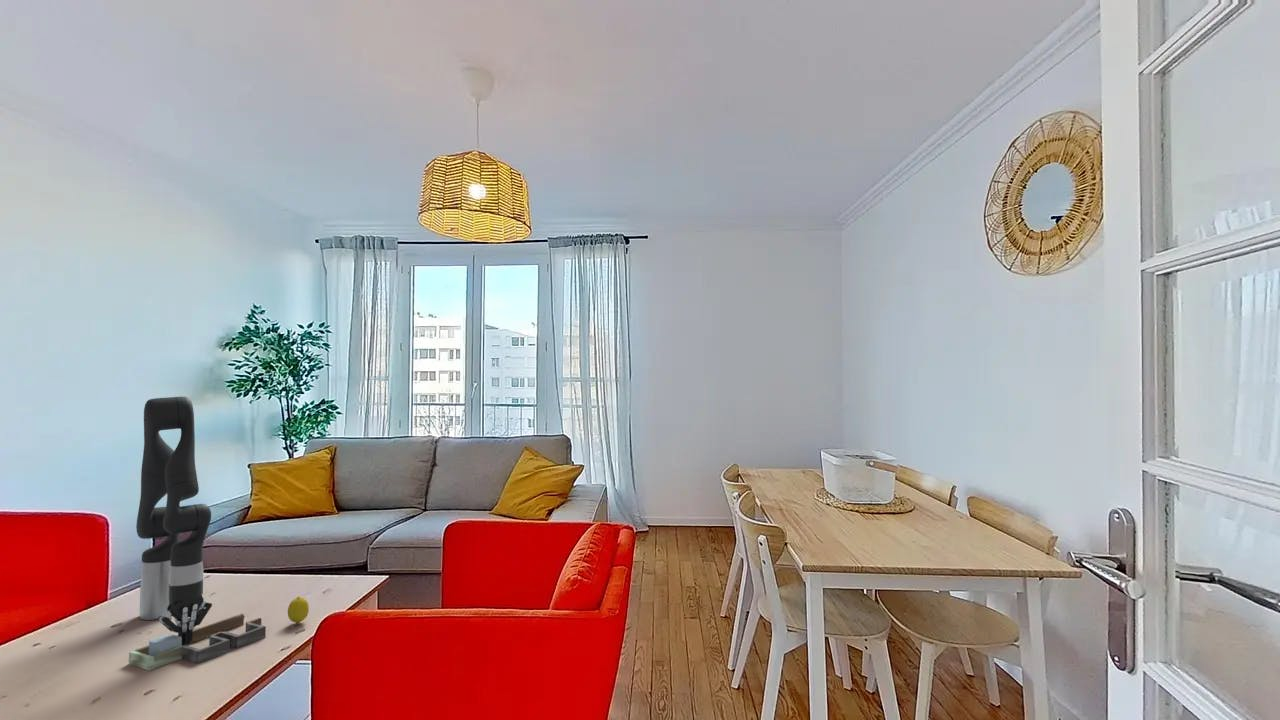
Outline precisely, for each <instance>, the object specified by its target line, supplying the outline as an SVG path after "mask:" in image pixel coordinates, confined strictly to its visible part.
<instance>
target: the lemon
mask: <svg viewBox="0 0 1280 720" xmlns="http://www.w3.org/2000/svg"><path fill="white" fill-rule="evenodd" d="M309 610H310V609H309V602H308V600H307V599H306V598H304V597H301V596H297V597H296V598H294V599H292V600H291V601H290V603H289V605H288V608H287V616H288V619H289V620H290V621H291V622H293V623H295V624H297V625H298V624H301V622H302V621H304V620H306V618H307V616H308V614H309Z"/></svg>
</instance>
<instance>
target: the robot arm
mask: <svg viewBox="0 0 1280 720" xmlns="http://www.w3.org/2000/svg"><path fill="white" fill-rule="evenodd" d="M176 429H177V430H179V429H180V438H179V441H178V443H177V446H176V447H175V449H173V448H172V447H170V445H169V444H167V442H166V441H165V440H164V439H163V438H162V437H161V434H160V431H167V430H176ZM195 438H196V436H195V412H194V407H193V403H192V401H191V399H190V398H189V397H188V396H172V397H171V396H169V397H167V396H166V397H157V398H156V397H155V398H150V399H148V400H147V401H146V402H145V404H144V408H143V453H142V454H143V455H142V461H141V462H142V463H141V469H140V470H141V471H140V497H139V505H138V511H137V517H136V528H135V529H136V533H137V537H138V538H140V539H143V540H145V539H147V540H149V539H155V538H156V539H158V538H164V537H166V538H165V540H163V541H161V542H160V543H159V544H157V545H155V546H152V547H149V548H148V549H145V550H144V551H143V552H142V553H141V577H140V580H141V581H140V586H139V587H140V588H139V589H140V590H139V591H140V593H139V616H140V617H139V618H140V619H141V620H143V621H144V620H145V621H149V620H151V621H152V620H157V621H158V622H159V623H161V625H163V626H164V627H165V628H166V629H167V630H169V631H170V632H173V633H176V634H177V636H180V637H182V645H181V646H186V645H187V646H189V645H191V643H190V642H191V641H192V632H193V630H194V628H195V627H197V626H199V625H201V624H202V622H203V620H204V619H205V617H206V616H207V615H208V612H210V609H211V608H212V607H213V603H211V602H208V601H207V602H206V601H205V599H204V597H203V594H204V564H203V563H204V562H203V551H204V550H203V548H204V544H205V538H206V535H207V532H208V529H209V528H210V527H209V526H210V524H211V520H212V511H211V508H210V507H209V506H208V505H207V504H205V503H196V504H189V505H183V506H181V505H180V503H181V502H183V501H185V500H189V499H192V498H194V497H196V496H197V495H198V494H199V491H200V490H199V488H200V486H199V481H198V473H197V469H196V457H195V456H196V455H195V454H196V452H195V448H196V444H195V442H196V439H195ZM165 496H166V504H165V505H166V506H159V507H156V506H157V504H158V503H159V501H161V500H162V499H163V498H164V497H165ZM189 532H191V533H190V535H189V536H188V537H186V538H184V539H182V540H180V535H181V534H183V533H189ZM172 617H173V618H174V622H175V623H174V622H173V621H172Z"/></svg>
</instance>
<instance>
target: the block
mask: <svg viewBox="0 0 1280 720" xmlns="http://www.w3.org/2000/svg"><path fill="white" fill-rule="evenodd" d="M148 642H149V643H148V645H149V655H150V656H154V655H156V654H159V653H162V652H165V651H168V650H170V649H173V648H176V647H179V646H181V645H182V637H180V636H178V635H176V634H172V633H169V634H166V635H163V636H160V637H158V638H154V639H151V640H149V641H148Z"/></svg>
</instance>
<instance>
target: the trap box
mask: <svg viewBox="0 0 1280 720" xmlns="http://www.w3.org/2000/svg"><path fill="white" fill-rule="evenodd" d="M244 617H245V615H244V613H240V614H236V615H234V616H231V617H228V618H225V619H221V620H218V621H216V622H213V623H211V624H207V625H204V626H201V627H198V628H196V629H193V632H192V641H191V642H190V644H193V643H195V642H198V641H201V640H204V639H206V638H208V640H209V641H208V643H209V645H208V646H205V647H203V648H197V647H193V646H189V645H186V646H179V647H176V648H173V649H170V650H168V651H165V652H162V653H159V654H156V655H154V656H150V655H149V644H148V645H146V646H143V647H139V648H137V649H134V650H131V651H129V653H128V665H130V666H134V667H137V668H140V669H143V670H146V671H151V670H152V671H153V670H155V669H158V668H160V667H162V666H165V665H167V664H171V663H174V662H176V661H178V660H186V661H189V662H193V663H195V664H200V663H202V662H206V661H208V660H211V659H213V658H216V657H218V656H221V655H224V654H226V653H228V652H231V651H230V649H231V648H235V649H239V648H241V647H243V646H244V647H245V646H247V645H249V644H252V643H254V642H256V641H260V640H262V639H265V638H266V637H267V636H266V631H267V629H266V625H262V618H261V617H257V618H255V619H251V620H249V621H247V622H245V621H244V620H245V618H244ZM244 624H245V632H243V633H240V634H236V633H232V632H229V631H228V630H231V629H234V628H237V627H240V626H243V625H244Z"/></svg>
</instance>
